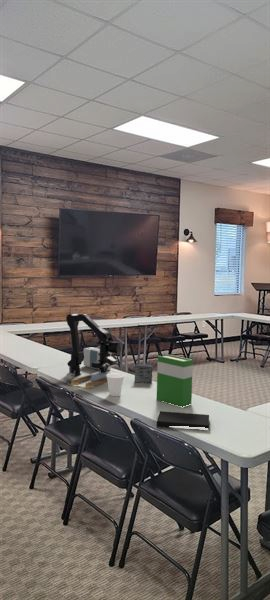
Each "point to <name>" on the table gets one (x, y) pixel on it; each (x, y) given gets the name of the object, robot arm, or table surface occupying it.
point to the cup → (115, 383)
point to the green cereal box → (174, 380)
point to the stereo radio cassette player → (92, 356)
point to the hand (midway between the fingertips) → (103, 376)
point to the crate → (98, 376)
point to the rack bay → (89, 384)
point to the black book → (182, 419)
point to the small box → (143, 373)
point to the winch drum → (69, 377)
